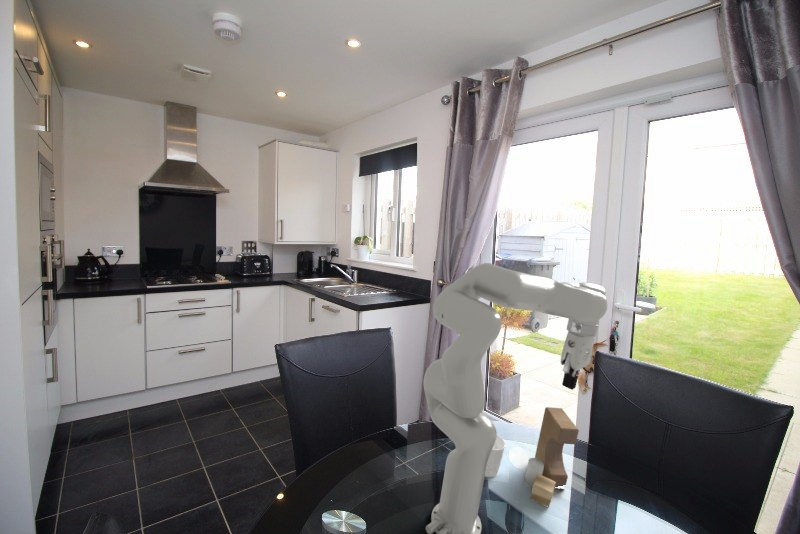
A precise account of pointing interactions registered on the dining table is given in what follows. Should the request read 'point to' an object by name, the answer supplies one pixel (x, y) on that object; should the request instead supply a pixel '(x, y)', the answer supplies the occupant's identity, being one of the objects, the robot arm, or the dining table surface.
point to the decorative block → (555, 443)
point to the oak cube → (543, 490)
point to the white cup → (495, 458)
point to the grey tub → (533, 470)
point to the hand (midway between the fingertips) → (568, 386)
